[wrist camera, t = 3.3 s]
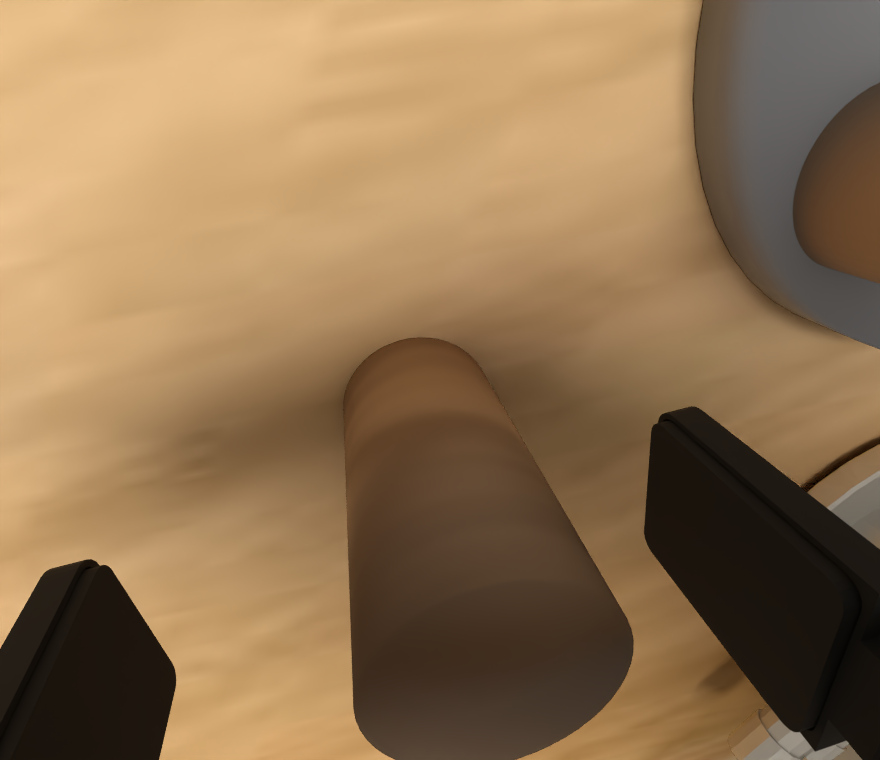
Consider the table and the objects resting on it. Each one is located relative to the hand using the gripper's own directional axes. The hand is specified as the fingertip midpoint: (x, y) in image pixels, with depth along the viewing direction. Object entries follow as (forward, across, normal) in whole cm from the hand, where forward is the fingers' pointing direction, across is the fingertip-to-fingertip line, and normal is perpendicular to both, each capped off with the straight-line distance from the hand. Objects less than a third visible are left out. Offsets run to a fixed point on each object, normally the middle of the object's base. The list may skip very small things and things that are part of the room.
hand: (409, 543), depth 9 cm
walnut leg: (+6, -1, +1) cm, 6 cm away
